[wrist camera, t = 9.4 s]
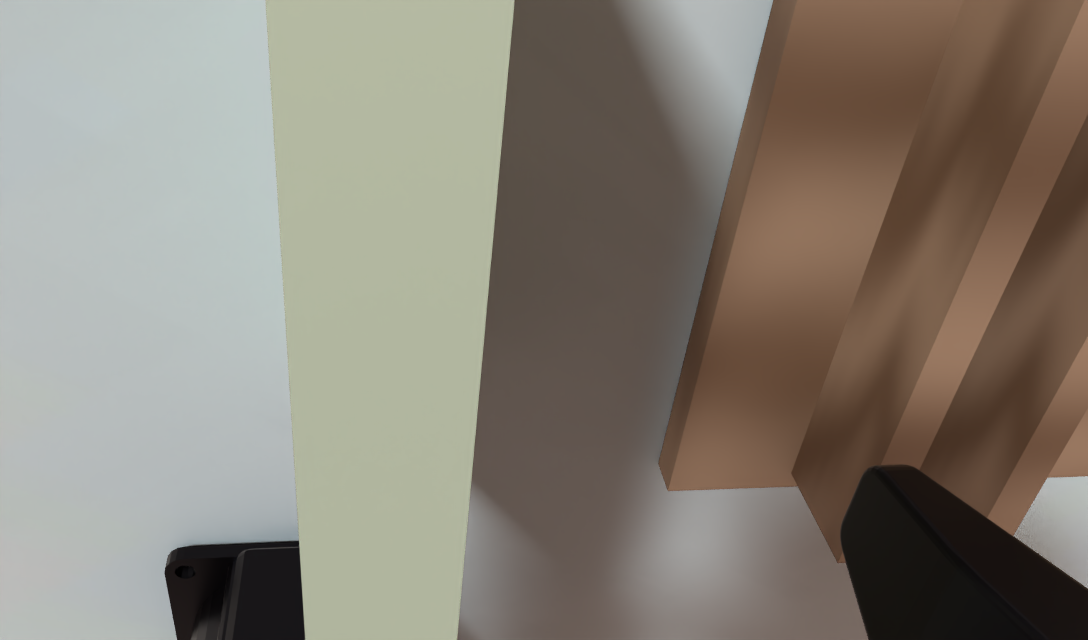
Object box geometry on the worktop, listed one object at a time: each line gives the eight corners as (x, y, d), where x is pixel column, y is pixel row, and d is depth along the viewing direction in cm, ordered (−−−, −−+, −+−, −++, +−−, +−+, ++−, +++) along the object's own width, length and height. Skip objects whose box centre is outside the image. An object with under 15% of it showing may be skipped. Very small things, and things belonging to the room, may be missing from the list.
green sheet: (410, 355, 21) (438, 843, 13) (340, 356, 21) (318, 856, 12) (435, -402, 13) (561, -519, 5) (323, -419, 13) (228, -579, 4)
